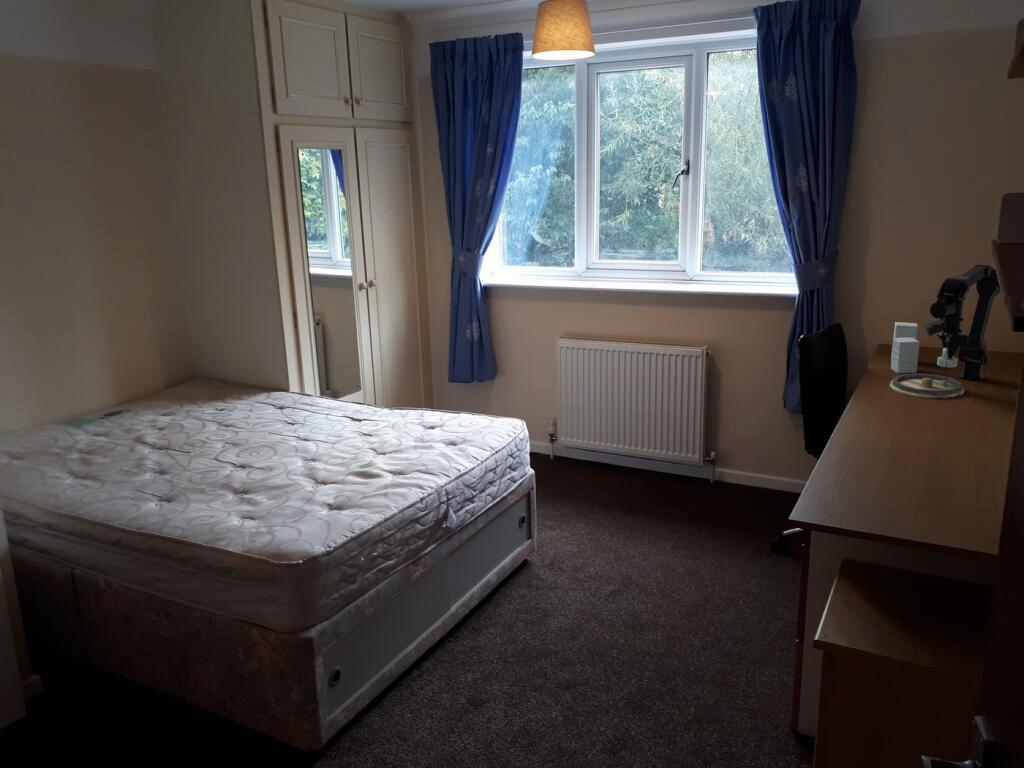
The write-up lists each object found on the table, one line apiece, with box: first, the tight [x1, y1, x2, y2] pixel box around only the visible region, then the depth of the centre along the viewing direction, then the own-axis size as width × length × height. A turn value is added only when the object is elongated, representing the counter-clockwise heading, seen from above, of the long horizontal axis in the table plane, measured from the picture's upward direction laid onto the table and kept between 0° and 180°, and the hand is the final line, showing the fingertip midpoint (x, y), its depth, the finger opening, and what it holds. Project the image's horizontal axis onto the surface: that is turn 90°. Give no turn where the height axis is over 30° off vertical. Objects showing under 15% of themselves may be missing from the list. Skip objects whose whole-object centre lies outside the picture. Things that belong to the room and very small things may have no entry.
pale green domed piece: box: [936, 347, 959, 368], centre depth 283 cm, size 6×6×6 cm
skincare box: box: [890, 321, 919, 361], centre depth 321 cm, size 8×7×16 cm
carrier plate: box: [889, 373, 965, 399], centre depth 287 cm, size 24×24×4 cm
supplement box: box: [890, 337, 920, 374], centre depth 309 cm, size 7×7×13 cm
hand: (947, 357), depth 283 cm, fingers closed on pale green domed piece, 4 cm apart
